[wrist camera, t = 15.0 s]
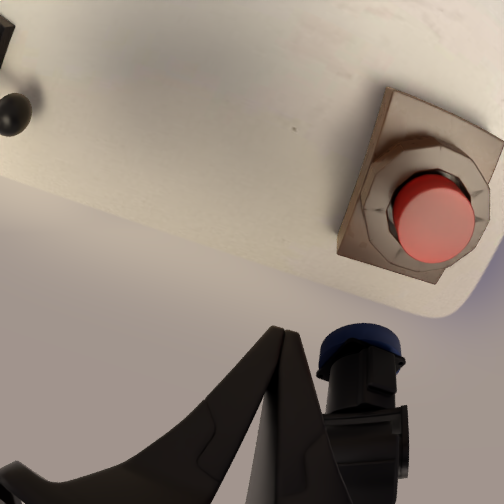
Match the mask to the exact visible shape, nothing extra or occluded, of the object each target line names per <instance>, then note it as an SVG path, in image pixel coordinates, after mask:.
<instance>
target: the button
mask: <svg viewBox="0 0 504 504" xmlns="http://www.w3.org/2000/svg"><path fill="white" fill-rule="evenodd" d="M392 214H393V221H394V225H395V229H396V232H397V236H398V239H399V242H400V244H401V246H402V248H403V249H404V251H405V252H406V253H407V254H408V255H409V256H411V257H412V258H414V259H415V260H418V261H420V262H424V263H440V262H444V261H447V260H449V259H451V258H453V257H455V256H456V255H458V254H459V253H460V252H461V251H462V250H463V249H464V248H465V247H466V246H467V244H468V243H469V241H470V239H471V237H472V235H473V232H474V227H475V215H474V210H473V208H472V205H471V203H470V202H469V200H468V199H467V198H466V196H465V195H464V194H463V192H462V191H461V190H460V189H459V188H458V186H457V185H456V184H455V183H454V182H453V181H451V180H450V179H449V178H447V177H445V176H442V175H438V174H425V175H421V176H418V177H415V178H414V179H412V180H410V181H409V182H407V183H406V184H405V185H404V186H403V187H402V188H401V190H400V191H399V193H398V194H397V196H396V198H395V201H394V204H393V212H392Z"/></svg>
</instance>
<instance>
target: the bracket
mask: <svg viewBox="0 0 504 504" xmlns="http://www.w3.org/2000/svg"><path fill="white" fill-rule="evenodd" d="M14 28H15V26H14V25H13V24H11V23H10V22H9V21H7V20H6V19H5V18H3V17H2V16H1V15H0V68H1V65H2V61H3V58H4V55H5V52H6V49H7V46H8V44H9V41H10V38H11V35H12V33H13V30H14Z"/></svg>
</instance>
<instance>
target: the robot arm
mask: <svg viewBox="0 0 504 504" xmlns="http://www.w3.org/2000/svg"><path fill="white" fill-rule="evenodd" d="M405 364H406V361H405V358H404V357H402V356H399V355H397V354H394V353H392V352H389V351H386V350H384V349H381V348H379V347H376V346H374V345H371V344H369V343H366V342H363V341H361V340H358V339H356V338H348V339H347V340H346V341H345V342H344V343H343V344H342V345H341V346H340V348H339V349H338V350H337V351H336V352H335V353H334V354H333V355H332V356H331V357H330V358H329V359H328V360H327V361H326V362H325V363H324V364H323V366H322V367H321V368H320V369H319V370H318V371H317V372H316V377H317V378H319V379H321V380H324V381H327V382H329V388H328V397H327V405H326V412H325V414H322V412H321V409H320V405H319V401H318V398H317V394H316V391H315V387H314V384H313V380H312V377H311V373H310V370H309V366H308V362H307V359H306V356H305V352H304V348H303V345H302V342H301V338H300V335H299V333H297V332H294V331H290V330H284V329H283V328H280V327H277V326H271V327H270V328H269V329H268V330H267V331H266V332H265V333H264V335H263V336H262V337H261V338H260V339H259V340H258V341H257V342H256V344H255V345H254V346H253V347H252V348H251V349H250V350H249V351H248V352H247V354H246V355H245V356H244V357H243V358H242V359H241V360H240V361H239V363H238V364H237V365H236V366H235V367H234V368H233V369H232V370H231V371H230V372H229V373H228V375H227V376H226V377H225V378H224V379H223V380H222V381H221V382H220V383H219V384H218V385H217V386H216V387H215V388H214V389H213V391H212V392H211V393H210V394H209V395H208V396H207V397H206V398H205V400H203V401H202V402H201V403H200V404H199V405H198V406H197V407H196V408H195V409H194V410H193V411H192V412H191V413H190V414H189V415H188V416H187V417H186V418H185V419H184V420H182V421H181V422H180V423H179V424H178V425H176V426H175V427H174V428H173V429H171V430H170V431H169V432H167V433H166V434H165V435H164V436H162V437H161V438H159V439H158V440H156V441H155V442H154V443H152V444H151V445H150V446H148V447H147V448H145V449H144V450H142V451H141V452H140V453H138V454H137V455H135V456H134V457H132V458H130V459H128V460H127V461H125V462H123V463H121V464H119V465H116V466H114V467H111V468H108V469H105V470H102V471H99V472H96V473H93V474H90V475H87V476H83V477H80V478H77V479H74V480H70V481H67V482H61V483H57V482H50V481H48V480H46V479H44V478H43V477H41V476H40V475H38V474H37V473H35V472H34V471H32V470H31V469H29V468H28V467H26V466H25V465H24V464H22V463H21V462H19V461H15V462H12V463H10V464H8V465H6V466H4V467H2V468H1V469H0V504H22V503H21V501H23V502H24V503H25V504H211V502H212V500H213V498H214V496H215V494H216V492H217V491H218V489H219V487H220V485H221V483H222V481H223V479H224V477H225V475H226V473H227V471H228V469H229V467H230V465H231V463H232V461H233V459H234V457H235V455H236V453H237V451H238V449H239V447H240V445H241V443H242V441H243V439H244V437H245V435H246V433H247V431H248V428H249V426H250V424H251V422H252V420H253V418H254V416H255V414H256V411H257V409H258V407H259V405H260V403H261V401H262V398H263V396H264V401H263V406H262V412H261V418H260V424H259V430H258V436H257V442H256V448H255V454H254V459H253V465H252V471H251V476H250V482H249V487H248V493H247V498H246V503H245V504H395V502H396V496H397V483H398V479H402V478H407V477H408V466H409V428H408V410H407V405H404V406H401V407H397V408H395V393H396V392H397V387H396V372H397V371H398V370H399V369H401V368H402V367H403V366H404V365H405ZM264 394H265V395H264Z"/></svg>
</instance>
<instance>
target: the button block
mask: <svg viewBox="0 0 504 504" xmlns="http://www.w3.org/2000/svg"><path fill="white" fill-rule="evenodd" d="M503 147H504V141H503V140H501V139H500V138H498V137H496V136H495V135H493V134H491V133H490V132H488V131H486V130H484V129H482V128H480V127H479V126H477V125H475V124H473V123H471V122H469V121H467V120H465V119H463V118H461V117H459V116H457V115H455V114H453V113H451V112H448V111H446V110H444V109H442V108H440V107H438V106H435V105H433V104H431V103H428V102H426V101H424V100H421V99H419V98H417V97H414V96H412V95H409V94H407V93H404V92H401V91H399V90H396V89H393V88H391V87H386V89H385V93H384V97H383V100H382V103H381V107H380V110H379V114H378V117H377V120H376V124H375V127H374V130H373V133H372V137H371V140H370V143H369V146H368V149H367V152H366V155H365V158H364V162H363V165H362V168H361V171H360V174H359V177H358V179H357V182H356V185H355V188H354V191H353V194H352V197H351V200H350V202H349V205H348V208H347V211H346V214H345V216H344V219H343V222H342V224H341V227H340V230H339V233H338V235H337V254H338V255H340V256H344V257H347V258H350V259H354V260H357V261H360V262H364V263H367V264H370V265H373V266H377V267H380V268H383V269H386V270H390V271H393V272H396V273H399V274H403V275H406V276H409V277H412V278H415V279H419V280H422V281H425V282H428V283H431V284H434V285H435V284H436V283H437V282H438V280H439V278H440V277H441V275H442V273H443V272H444V270H445V268H447V267H448V266H449V267H450V266H451V265H453V264H454V263H456V262H457V261H458V260H460V259H461V258H462V257H464V256H465V255H467V254H468V253H469V252H471V251H472V250H473V249H474V248H475V247H476V245H477V243H478V242H479V240H480V238H481V236H482V234H483V232H484V230H485V229H486V227H487V225H488V223H489V220H490V188H489V186H488V184H489V182H490V179H491V177H492V174H493V172H494V170H495V167H496V165H497V162H498V160H499V157H500V155H501V152H502V149H503ZM425 174H438V175H442V176H445V177H447V178H449V179H450V180H451V181H453V182H454V183H455V184H456V185H457V186H458V188H459V189H460V190H461V191H462V192H463V194H464V195H465V196H466V198H467V199H468V200H469V202H470V203H471V205H472V208H473V210H474V215H475V227H474V232H473V235H472V237H471V239H470V241H469V243H468V244H467V246H466V247H465V248H464V249H463V250H462V251H461V252H460V253H459V254H458V255H456V256H455V257H453V258H451V259H449V260H447V261H444V262H440V263H424V262H420V261H418V260H415V259H414V258H412V257H411V256H409V255H408V254H407V253H406V252H405V251H404V249H403V248H402V246H401V244H400V242H399V239H398V236H397V232H396V229H395V225H394V221H393V214H392V212H393V204H394V201H395V198H396V196H397V194H398V193H399V191H400V190H401V188H402V187H403V186H404V185H405V184H406V183H407V182H409V181H410V180H412V179H414V178H415V177H418V176H421V175H425Z"/></svg>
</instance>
